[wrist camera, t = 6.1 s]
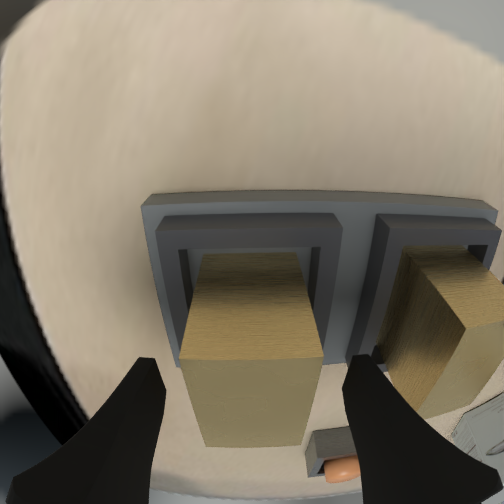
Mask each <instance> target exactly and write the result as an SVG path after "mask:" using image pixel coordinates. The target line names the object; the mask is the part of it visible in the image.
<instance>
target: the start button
mask: <svg viewBox="0 0 504 504" xmlns="http://www.w3.org/2000/svg"><path fill="white" fill-rule="evenodd" d="M323 464H324V471H325V477H326V482H328V483H339V482H345V481H348V480H352V479H354V478H357V477H359V476H360V475H361V473H360V466H359V461H358V456H357V455H355V456H349V457H343V458H337V459H330V460H324V462H323Z"/></svg>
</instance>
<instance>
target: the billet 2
mask: <svg viewBox="0 0 504 504" xmlns="http://www.w3.org/2000/svg"><path fill="white" fill-rule="evenodd" d="M376 344H377V346H378V349H379V351H380V353H381V356H382V358H383V361H384V363H385V365H386V368H387V370H388V373H389V375H390V378H391V380H392V383H393V385H394V387H395V388H396V390H397V391H398V392H399V393H400V394H401V396H402V397H403V398H404V399H405V400H406V401H407V402H408V404H409V405H410V406H411V407H412V408H413V409H414V410H415V411H416V412H417V413H418V414H419V415H420V416H421V417H422V418H423V419H428V418H431V417H435V416H438V415H441V414H444V413H447V412H450V411H453V410H456V409H459V408H462V407H465V406H467V405H470V404H471V403H472V402H473V401H474V399H475V398H476V397H477V395H478V394H479V393H480V391H481V390H482V389H483V387H484V386H485V385H486V383H487V382H488V380H489V379H490V378H491V376H492V375H493V373H494V372H495V370H496V369H497V367H498V366H499V364H500V363H501V361H502V360H503V358H504V285H503V284H502V283H501V282H500V281H499V280H498V279H497V278H496V277H495V276H494V275H493V274H492V273H491V272H490V271H489V270H488V269H487V268H486V267H485V266H484V265H483V264H482V263H481V262H480V261H479V260H478V259H477V258H476V257H474V256H473V255H472V254H471V253H470V252H469V251H468V250H467V249H466V248H465V247H464V246H462V245H426V246H403V249H402V253H401V257H400V261H399V266H398V270H397V273H396V277H395V281H394V285H393V288H392V292H391V296H390V299H389V302H388V306H387V309H386V312H385V316H384V319H383V322H382V325H381V328H380V331H379V334H378V337H377V340H376Z"/></svg>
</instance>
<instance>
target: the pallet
mask: <svg viewBox="0 0 504 504" xmlns="http://www.w3.org/2000/svg"><path fill="white" fill-rule="evenodd" d="M141 211H142V217H143V223H144V229H145V235H146V240H147V246H148V251H149V256H150V261H151V266H152V271H153V276H154V281H155V285H156V290H157V294H158V299H159V303H160V307H161V311H162V315H163V320H164V324H165V327H166V331H167V335H168V339H169V343H170V346H171V350H172V354H173V357H174V361H175V364H176V367H181V366H180V362H179V355H180V351H181V346H182V341H183V337H184V333H185V328H186V324H187V319H188V315H189V311H190V307H191V302H192V298H193V294H194V290H195V286H196V282H197V278H198V274H199V270H200V266H201V262H202V258H203V254H215V253H273V252H296V254H297V257H298V261H299V264H300V268H301V271H302V275H303V279H304V282H305V286H306V289H307V293H308V297H309V300H310V304H311V308H312V312H313V315H314V319H315V323H316V327H317V331H318V335H319V338H320V342H321V346H322V350H323V354H324V359H323V363H322V365H327V364H338V363H347V366H348V368H349V365H350V362H351V359H352V356H353V355H361V354H369V355H370V357H371V358H372V359H373V360H374V362H375V363H376V364H377V366H378V367H379V368H380V370H381V371H382V372H387V371H388V370H387V368H386V365H385V363H384V361H383V358H382V356H381V353H380V351H379V349H378V346H377V344H376V340H377V337H378V334H379V331H380V328H381V325H382V322H383V319H384V316H385V312H386V309H387V306H388V302H389V299H390V296H391V292H392V288H393V285H394V281H395V277H396V273H397V270H398V266H399V261H400V257H401V253H402V249H403V246H426V245H462V246H464V247H465V248H466V249H467V250H468V251H469V252H470V253H471V254H472V255H473V256H474V257H476V258H477V259H478V260H479V261H480V262H481V263H482V264H483V265H484V266H485V267H486V268H487V269H488V270H489V269H490V266H491V263H492V261H493V258H494V255H495V252H496V248H497V245H498V242H499V239H500V235H501V232H502V230H501V229H499V228H498V227H497V226H495V222H496V218H497V214H498V210H496V209H495V208H493V207H492V206H490V205H489V204H487V203H486V202H484V201H480V200H471V199H461V198H451V197H439V196H427V195H413V194H397V193H378V192H354V191H314V190H257V191H215V192H191V193H171V194H155V195H150V196H149V197H148V199H147V200H146V201H145V202H144V203H143V204H142V205H141Z"/></svg>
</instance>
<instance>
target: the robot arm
mask: <svg viewBox="0 0 504 504" xmlns="http://www.w3.org/2000/svg"><path fill="white" fill-rule="evenodd" d="M503 285H504V284H503ZM342 391H343V399H344V405H345V412H346V415H347V419H348V423H349V426H350V430H351V434H352V438H353V441H354V445H355V449H356V453H357V456H358V461H359V466H360V473H361V482H362V492H363V504H481V502H483V501H485V500H486V499H488V498H489V497H491V496H493V495H495V494H496V493H498V492H499V491H501V490H502V489H503V484H502V481H501V478H500V475H499V473H498V470H497V469H495V468H493V467H490V466H488V465H486V464H484V463H482V462H480V461H478V460H476V459H475V458H473V457H471V456H470V455H468V454H466V453H465V452H463V451H462V450H460V449H459V448H458V447H456V446H455V445H453V444H452V443H451V442H449V441H448V440H446V439H445V438H444V437H443V436H442V435H440V434H439V433H438V432H437V431H436V430H434V429H433V428H432V427H431V426H430V425H429V424H428V423H427V422H426V421H425V420H424V419H423V418H422V417H421V416H420V415H419V414H418V413H417V412H416V411H415V410H414V409H413V408H412V407H411V406H410V405H409V404H408V402H407V401H406V400H405V399H404V398H403V397H402V396H401V394H400V393H399V392H398V391H397V390H396V388H395V387H394V386H393V385H392V384H391V382H390V381H389V380H388V379H387V377H386V376H385V375H384V373H383V372H382V371H381V370H380V368H379V367H378V366H377V364H376V363H375V362H374V360H373V359H372V358H371V357H370V355H369V354H361V355H353V356H352V359H351V362H350V365H349V368H348V372H347V375H346V378H345V380H344V383H343V386H342ZM165 399H166V388H165V385H164V383H163V380H162V377H161V375H160V372H159V369H158V366H157V363H156V360H155V358H144V357H139V358H138V359H137V361H136V362H135V363H134V365H133V366H132V367H131V369H130V370H129V372H128V373H127V374H126V376H125V377H124V378H123V380H122V381H121V383H120V384H119V385H118V387H117V388H116V389H115V390H114V392H113V393H112V394H111V395H110V397H109V398H108V399H107V401H106V402H105V403H104V404H103V405H102V407H101V408H100V409H99V410H98V411H97V412H96V413H95V415H94V416H93V417H92V418H91V419H90V420H89V421H88V422H87V423H86V424H85V426H84V427H83V428H82V429H81V430H79V431H78V432H77V433H76V434H75V435H74V436H73V437H72V438H71V439H70V440H69V441H67V442H66V443H65V444H64V445H63V446H62V447H60V448H59V449H58V450H57V451H55V452H54V453H53V454H51V455H50V456H48V457H47V458H45V459H44V460H43V461H41V462H40V463H38V464H37V465H35V466H33V467H31V468H30V469H28V470H26V471H24V472H22V473H21V474H19V475H17V476H15V477H13V480H12V482H11V485H10V489H9V492H8V495H7V498H6V503H7V504H148V503H149V487H150V475H151V467H152V461H153V457H154V453H155V448H156V444H157V440H158V436H159V432H160V427H161V423H162V419H163V415H164V407H165ZM499 504H504V501H503V502H501V503H499Z"/></svg>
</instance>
